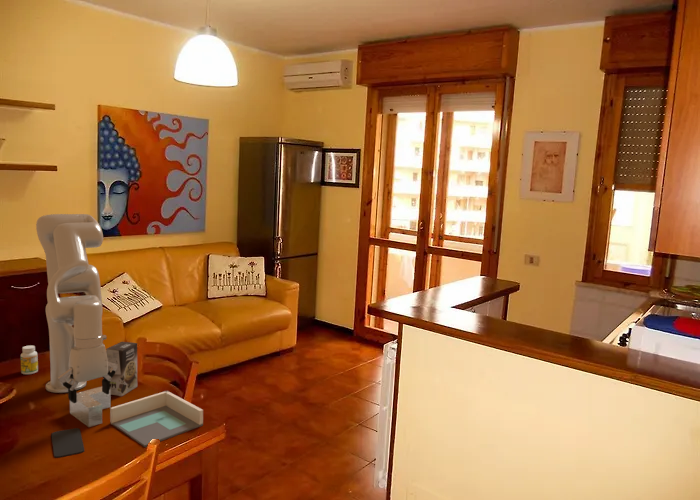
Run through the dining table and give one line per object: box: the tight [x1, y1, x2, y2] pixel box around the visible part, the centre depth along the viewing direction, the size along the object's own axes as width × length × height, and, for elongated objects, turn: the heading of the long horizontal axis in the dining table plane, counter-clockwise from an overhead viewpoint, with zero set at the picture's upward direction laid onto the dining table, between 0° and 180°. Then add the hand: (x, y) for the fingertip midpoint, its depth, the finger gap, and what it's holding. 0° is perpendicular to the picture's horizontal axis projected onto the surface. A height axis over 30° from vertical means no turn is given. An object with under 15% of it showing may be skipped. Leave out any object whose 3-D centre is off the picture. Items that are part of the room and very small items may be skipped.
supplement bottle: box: [20, 344, 39, 375], centre depth 199 cm, size 5×5×10 cm
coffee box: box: [105, 341, 138, 397], centre depth 186 cm, size 9×6×16 cm
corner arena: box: [109, 390, 204, 448], centre depth 164 cm, size 20×19×5 cm
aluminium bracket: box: [69, 385, 112, 428], centre depth 168 cm, size 13×11×6 cm
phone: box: [50, 427, 85, 459], centre depth 151 cm, size 7×1×15 cm
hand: (89, 397), depth 163 cm, fingers open, 9 cm apart
